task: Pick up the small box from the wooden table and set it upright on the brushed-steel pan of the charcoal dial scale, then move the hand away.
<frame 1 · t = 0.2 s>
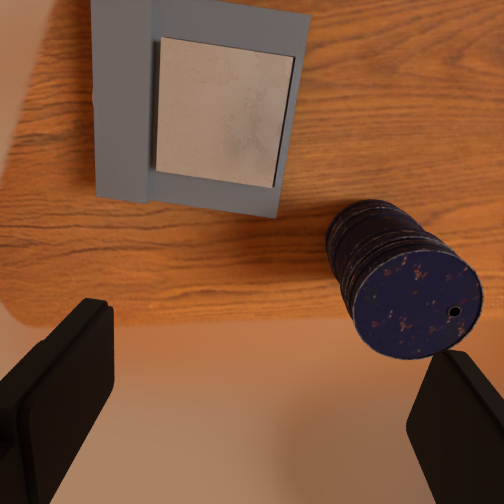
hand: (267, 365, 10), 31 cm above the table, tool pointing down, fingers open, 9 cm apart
scale: (203, 112, 37), on the table
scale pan: (222, 117, 33), point 4 cm above the table, slide at -0.3 cm
navy cylindrical canister: (367, 239, 41), on the table
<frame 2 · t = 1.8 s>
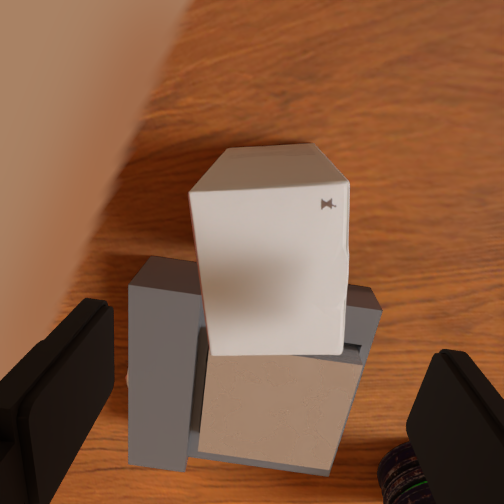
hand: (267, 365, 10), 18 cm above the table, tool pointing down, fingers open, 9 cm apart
scale: (246, 359, 33), on the table
small box: (272, 199, 27), on the table
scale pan: (274, 396, 29), point 4 cm above the table, slide at -0.3 cm
navy cylindrical canister: (424, 470, 37), on the table
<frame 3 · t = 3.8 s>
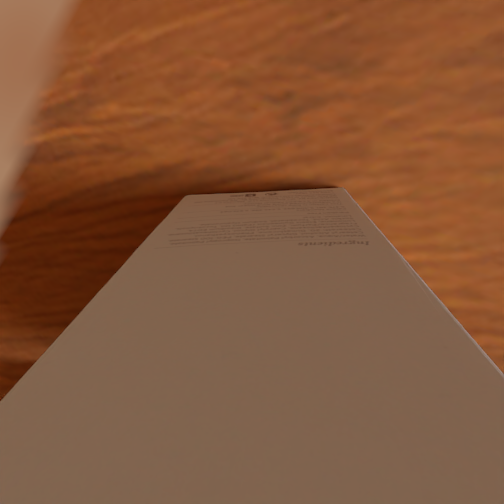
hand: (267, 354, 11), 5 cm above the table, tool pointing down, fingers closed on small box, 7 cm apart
small box: (267, 279, 16), on the table, touching gripper
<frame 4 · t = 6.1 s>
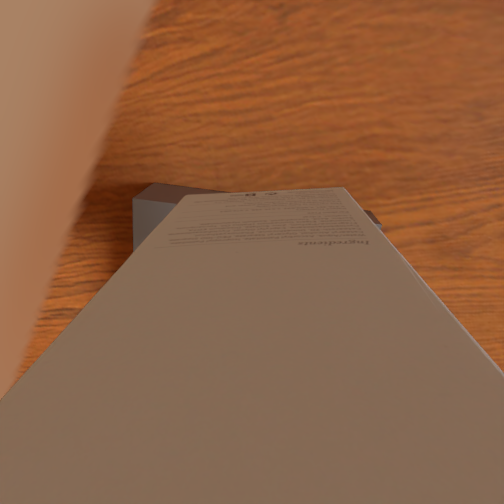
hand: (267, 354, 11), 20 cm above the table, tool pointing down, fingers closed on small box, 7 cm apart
scale: (249, 291, 33), on the table
small box: (267, 279, 16), point 15 cm above the table, touching gripper
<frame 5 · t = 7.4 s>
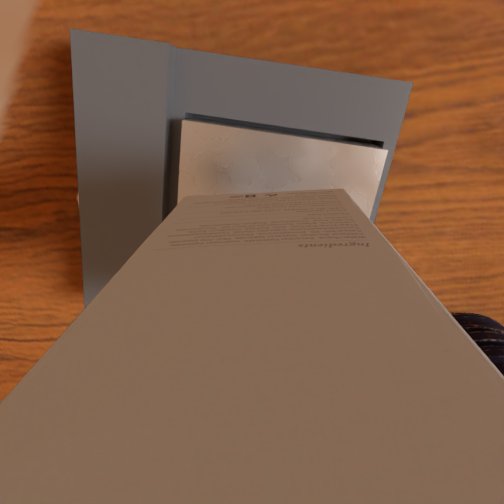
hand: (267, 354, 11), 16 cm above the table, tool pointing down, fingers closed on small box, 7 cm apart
scale: (235, 202, 26), on the table
small box: (267, 280, 16), point 11 cm above the table, touching gripper
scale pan: (269, 224, 22), point 4 cm above the table, slide at -0.3 cm
navy cylindrical canister: (452, 360, 31), on the table
when the fingers open (12 cm above the table, at t = 8.7 s): small box drops 3 cm, resting on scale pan.
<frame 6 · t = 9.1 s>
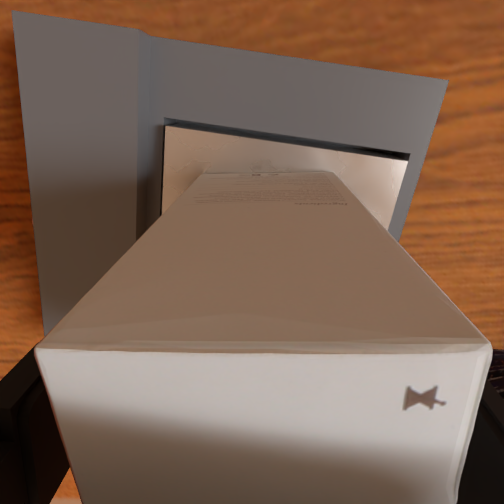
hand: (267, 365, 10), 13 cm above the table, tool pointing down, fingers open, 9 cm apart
scale: (228, 223, 22), on the table
small box: (267, 249, 18), point 4 cm above the table, touching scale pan
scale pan: (268, 244, 20), point 3 cm above the table, slide at -1.6 cm, touching small box
navy cylindrical canister: (479, 401, 27), on the table
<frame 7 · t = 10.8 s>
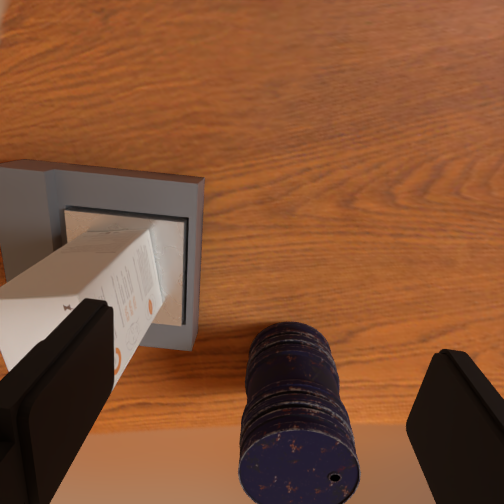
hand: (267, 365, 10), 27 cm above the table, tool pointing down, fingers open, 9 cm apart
scale: (117, 252, 39), on the table
small box: (125, 268, 35), point 4 cm above the table, touching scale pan
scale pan: (131, 265, 36), point 3 cm above the table, slide at -1.5 cm, touching small box
navy cylindrical canister: (289, 355, 43), on the table
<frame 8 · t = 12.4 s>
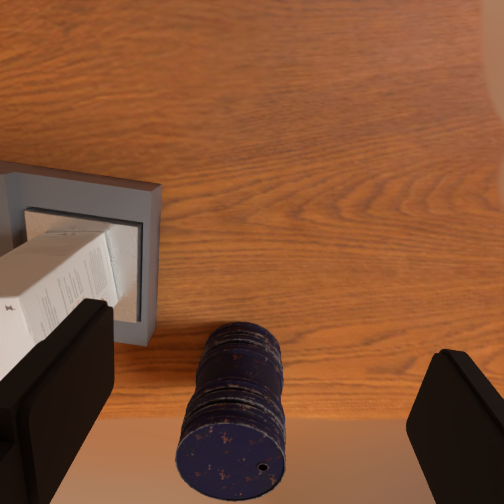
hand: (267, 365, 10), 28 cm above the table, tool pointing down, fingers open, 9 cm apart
scale: (79, 251, 41), on the table
small box: (83, 267, 37), point 4 cm above the table, touching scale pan
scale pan: (90, 264, 38), point 3 cm above the table, slide at -1.5 cm, touching small box
navy cylindrical canister: (242, 353, 45), on the table
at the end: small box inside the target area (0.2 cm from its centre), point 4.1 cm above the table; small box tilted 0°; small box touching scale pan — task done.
